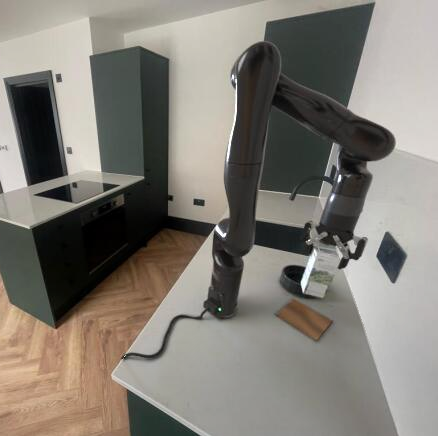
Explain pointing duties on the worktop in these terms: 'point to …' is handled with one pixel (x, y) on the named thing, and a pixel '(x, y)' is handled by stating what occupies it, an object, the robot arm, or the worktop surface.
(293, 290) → the bowl
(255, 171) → the robot arm
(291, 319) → the coaster
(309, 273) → the syrup box
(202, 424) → the worktop surface
